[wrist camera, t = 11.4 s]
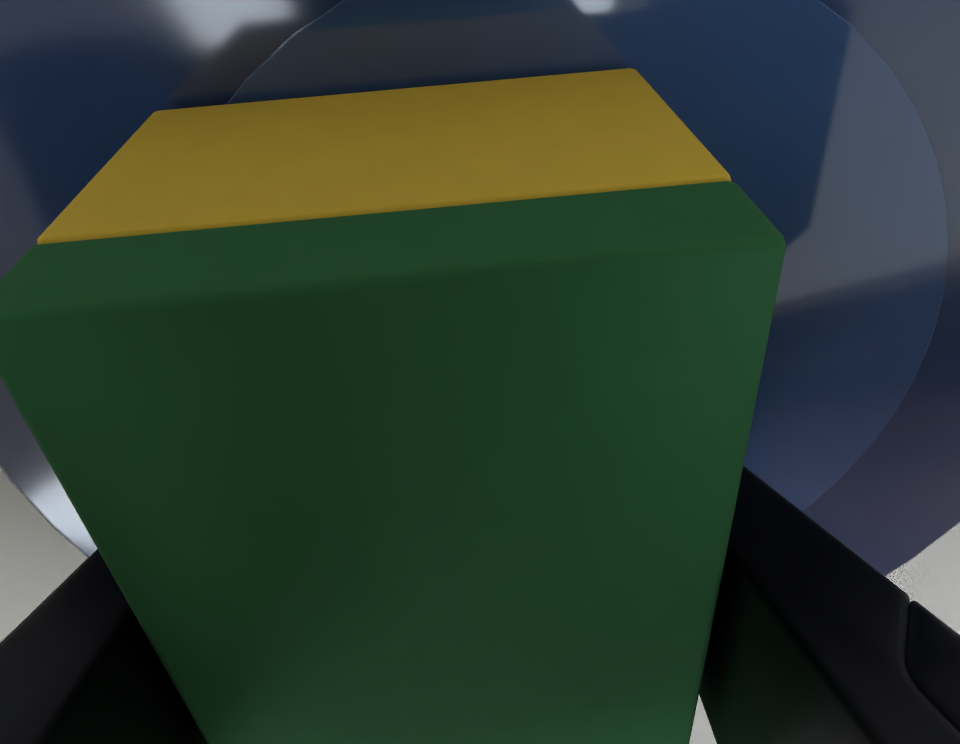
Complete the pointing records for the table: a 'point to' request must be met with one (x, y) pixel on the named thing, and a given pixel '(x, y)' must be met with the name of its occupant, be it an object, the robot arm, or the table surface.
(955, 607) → the table surface
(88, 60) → the plate
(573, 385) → the sponge
